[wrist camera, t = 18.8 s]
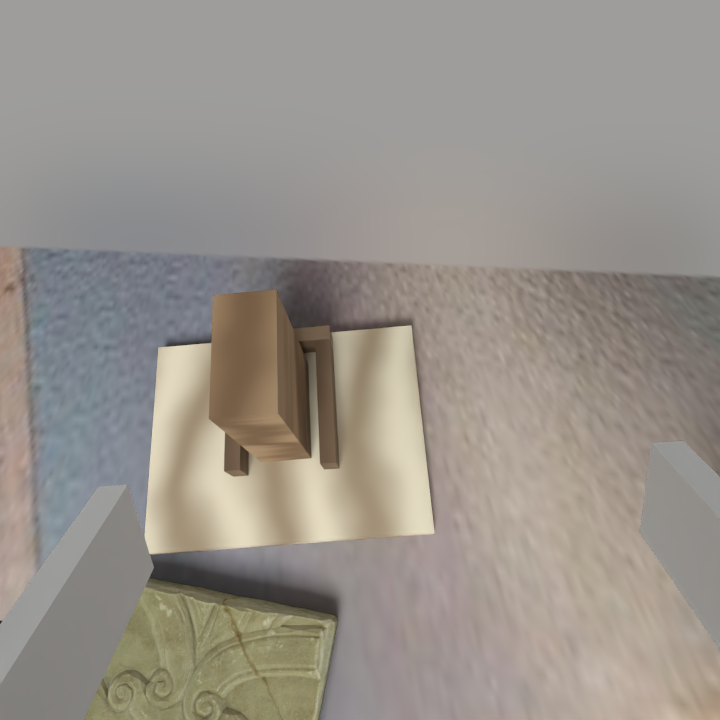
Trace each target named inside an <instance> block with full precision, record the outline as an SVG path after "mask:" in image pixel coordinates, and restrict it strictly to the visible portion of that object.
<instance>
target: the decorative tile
mask: <svg viewBox="0 0 720 720" xmlns="http://www.w3.org/2000/svg"><path fill="white" fill-rule="evenodd" d="M337 622H338V619H337V617H336V616H334V615H331V614H328V613H323V612H318V611H313V610H309V609H304V608H296V607H292V606H288V605H283V604H279V603H275V602H270V601H265V600H260V599H253V598H248V597H242V596H236V595H231V594H227V593H222V592H218V591H214V590H210V589H205V588H201V587H196V586H190V585H184V584H178V583H173V582H168V581H163V580H158V579H153V578H149V579H148V581H147V584H146V586H145V588H144V590H143V592H142V594H141V597H140V599H139V601H138V603H137V605H136V607H135V610H134V612H133V614H132V616H131V618H130V620H129V623H128V625H127V627H126V629H125V631H124V633H123V636H122V638H121V640H120V642H119V644H118V646H117V649H116V651H115V653H114V655H113V657H112V659H111V662H110V664H109V666H108V668H107V670H106V673H105V675H104V677H103V679H102V681H101V683H100V686H99V688H98V690H97V692H96V694H95V696H94V699H93V701H92V703H91V705H90V707H89V709H88V712H87V714H86V716H85V718H84V720H319V716H320V711H321V705H322V700H323V695H324V690H325V685H326V680H327V675H328V670H329V665H330V659H331V654H332V649H333V644H334V639H335V633H336V629H337Z"/></svg>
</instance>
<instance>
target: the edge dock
mask: <svg viewBox="0 0 720 720" xmlns="http://www.w3.org/2000/svg"><path fill="white" fill-rule="evenodd" d="M293 329H294V332H295V334H296V337H297V339H298V341H299V344H300V346H301V348H302V351H303V353H304V355H305V358H306V360H307V362H308V371H309V400H310V430H311V458H309V459H297V460H284V461H272V462H260V461H259V460H258V459H257V458H256V457H254V456H253V455H252V454H251V453H249V452H248V451H247V450H246V449H245V448H243V447H242V446H241V445H240V444H239V443H237V442H236V441H235V440H234V439H233V438H231V437H230V436H229V435H228V434H227V433H225V432H224V431H223V430H222V429H220V428H219V427H218V426H217V425H216V424H214V423H213V422H212V421H211V420H210V419H209V397H210V369H211V343H205V344H194V345H183V346H171V347H160V348H159V350H158V363H157V377H156V390H155V404H154V417H153V430H152V444H151V457H150V471H149V484H148V497H147V511H146V524H145V541H146V544H147V547H148V550H149V553H150V555H154V554H167V553H181V552H194V551H208V550H221V549H235V548H248V547H262V546H275V545H289V544H303V543H316V542H330V541H343V540H357V539H370V538H384V537H397V536H411V535H424V534H434V525H433V516H432V507H431V498H430V489H429V480H428V471H427V462H426V453H425V444H424V435H423V426H422V417H421V408H420V399H419V390H418V381H417V372H416V363H415V354H414V345H413V336H412V327H411V325H410V326H399V327H387V328H376V329H364V330H353V331H342V332H331V330H330V326H329V325H327V326H315V327H304V328H293Z"/></svg>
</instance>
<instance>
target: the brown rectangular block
mask: <svg viewBox="0 0 720 720" xmlns="http://www.w3.org/2000/svg"><path fill="white" fill-rule="evenodd" d="M209 419H210V420H211V421H212V422H213V423H214V424H216V425H217V426H218V427H219V428H220V429H222V430H223V431H224V432H225V433H227V434H228V435H229V436H230V437H231V438H233V439H234V440H235V441H236V442H237V443H239V444H240V445H241V446H242V447H243V448H245V449H246V450H247V451H248V452H249V453H251V454H252V455H253V456H254V457H256V458H257V459H258V460H259V461H260V462H272V461H284V460H297V459H309V458H311V430H310V400H309V371H308V362H307V360H306V358H305V355H304V353H303V351H302V348H301V346H300V344H299V341H298V339H297V337H296V334H295V332H294V329H293V327H292V325H291V322H290V320H289V318H288V315H287V313H286V311H285V308H284V306H283V304H282V301H281V299H280V297H279V294H278V292H277V290H266V291H255V292H244V293H233V294H222V295H213V314H212V342H211V369H210V397H209Z"/></svg>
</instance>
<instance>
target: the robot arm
mask: <svg viewBox="0 0 720 720" xmlns="http://www.w3.org/2000/svg"><path fill="white" fill-rule="evenodd" d="M640 533H641V535H642V536H643V538H644V539H645V541H646V542H647V544H648V545H649V547H650V548H651V550H652V551H653V552H654V554H655V555H656V557H657V558H658V560H659V561H660V563H661V564H662V566H663V567H664V569H665V570H666V572H667V573H668V575H669V576H670V577H671V579H672V580H673V582H674V583H675V585H676V586H677V588H678V589H679V591H680V592H681V594H682V595H683V597H684V598H685V599H686V601H687V602H688V604H689V605H690V607H691V608H692V610H693V611H694V613H695V614H696V616H697V617H698V619H699V620H700V621H701V623H702V624H703V626H704V627H705V629H706V630H707V632H708V633H709V635H710V636H711V638H712V639H713V641H714V642H715V644H716V645H717V646H718V648H719V649H720V476H719V475H717V474H716V473H715V472H714V471H713V470H712V469H711V468H710V467H709V466H708V465H707V464H706V463H705V462H704V461H703V460H702V459H701V458H700V457H699V456H698V455H697V454H696V453H695V452H694V451H693V450H692V449H691V448H690V447H689V446H688V445H687V444H686V443H685V442H684V441H675V442H662V443H652V444H651V452H650V459H649V466H648V474H647V481H646V488H645V496H644V503H643V510H642V517H641V525H640ZM153 568H154V566H153V563H152V560H151V557H150V553H149V550H148V547H147V544H146V541H145V538H144V534H143V531H142V528H141V525H140V522H139V519H138V515H137V512H136V509H135V506H134V503H133V500H132V496H131V493H130V490H129V487H128V485H117V486H104V487H98V488H97V489H96V491H95V492H94V494H93V495H92V496H91V498H90V499H89V501H88V502H87V503H86V505H85V506H84V508H83V509H82V510H81V512H80V513H79V515H78V516H77V517H76V519H75V520H74V522H73V523H72V524H71V526H70V527H69V529H68V530H67V531H66V533H65V534H64V536H63V537H62V538H61V540H60V541H59V543H58V544H57V545H56V547H55V548H54V550H53V551H52V552H51V554H50V555H49V557H48V558H47V559H46V561H45V562H44V564H43V565H42V566H41V568H40V569H39V571H38V572H37V573H36V575H35V576H34V578H33V579H32V580H31V582H30V583H29V585H28V586H27V587H26V589H25V590H24V592H23V593H22V594H21V596H20V597H19V599H18V600H17V601H16V603H15V604H14V606H13V607H12V608H11V610H10V611H9V613H8V614H7V615H6V617H5V618H4V620H3V621H0V720H84V718H85V716H86V714H87V712H88V709H89V707H90V705H91V703H92V701H93V699H94V696H95V694H96V692H97V690H98V688H99V686H100V683H101V681H102V679H103V677H104V675H105V673H106V670H107V668H108V666H109V664H110V662H111V659H112V657H113V655H114V653H115V651H116V649H117V646H118V644H119V642H120V640H121V638H122V636H123V633H124V631H125V629H126V627H127V625H128V623H129V620H130V618H131V616H132V614H133V612H134V610H135V607H136V605H137V603H138V601H139V599H140V597H141V594H142V592H143V590H144V588H145V586H146V584H147V581H148V579H149V577H150V575H151V573H152V571H153Z"/></svg>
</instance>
